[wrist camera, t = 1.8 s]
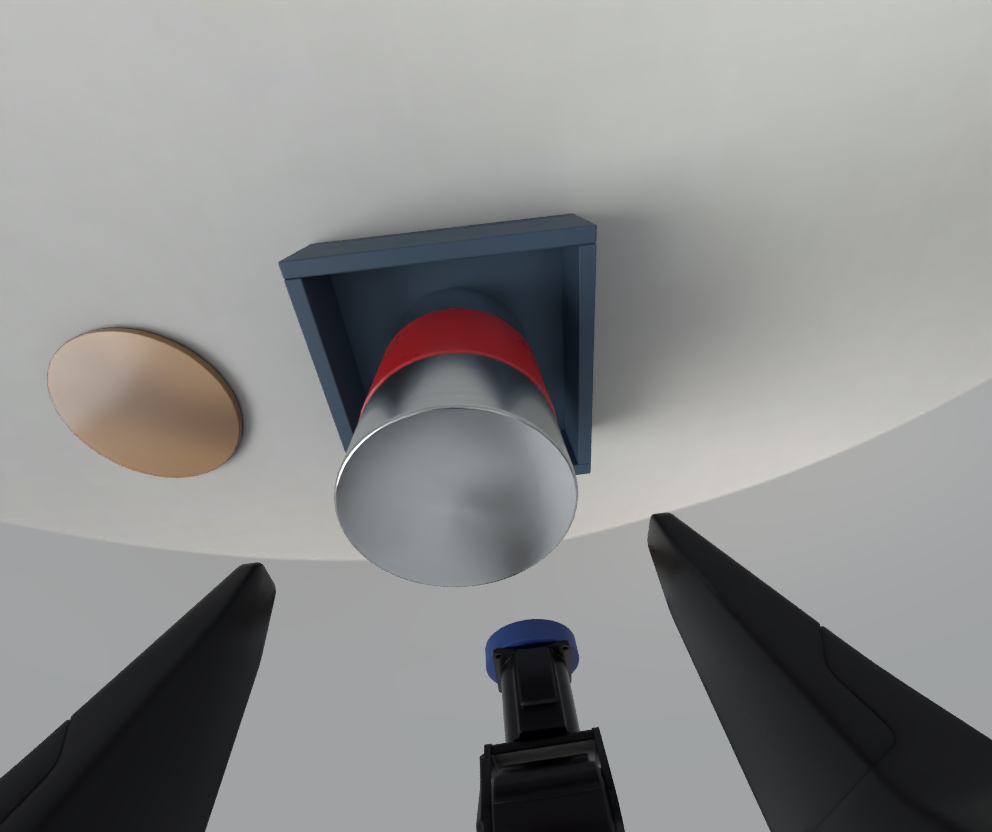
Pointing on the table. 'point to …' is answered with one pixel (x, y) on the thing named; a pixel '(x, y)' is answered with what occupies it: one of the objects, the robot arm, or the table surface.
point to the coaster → (145, 402)
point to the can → (457, 450)
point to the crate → (444, 265)
